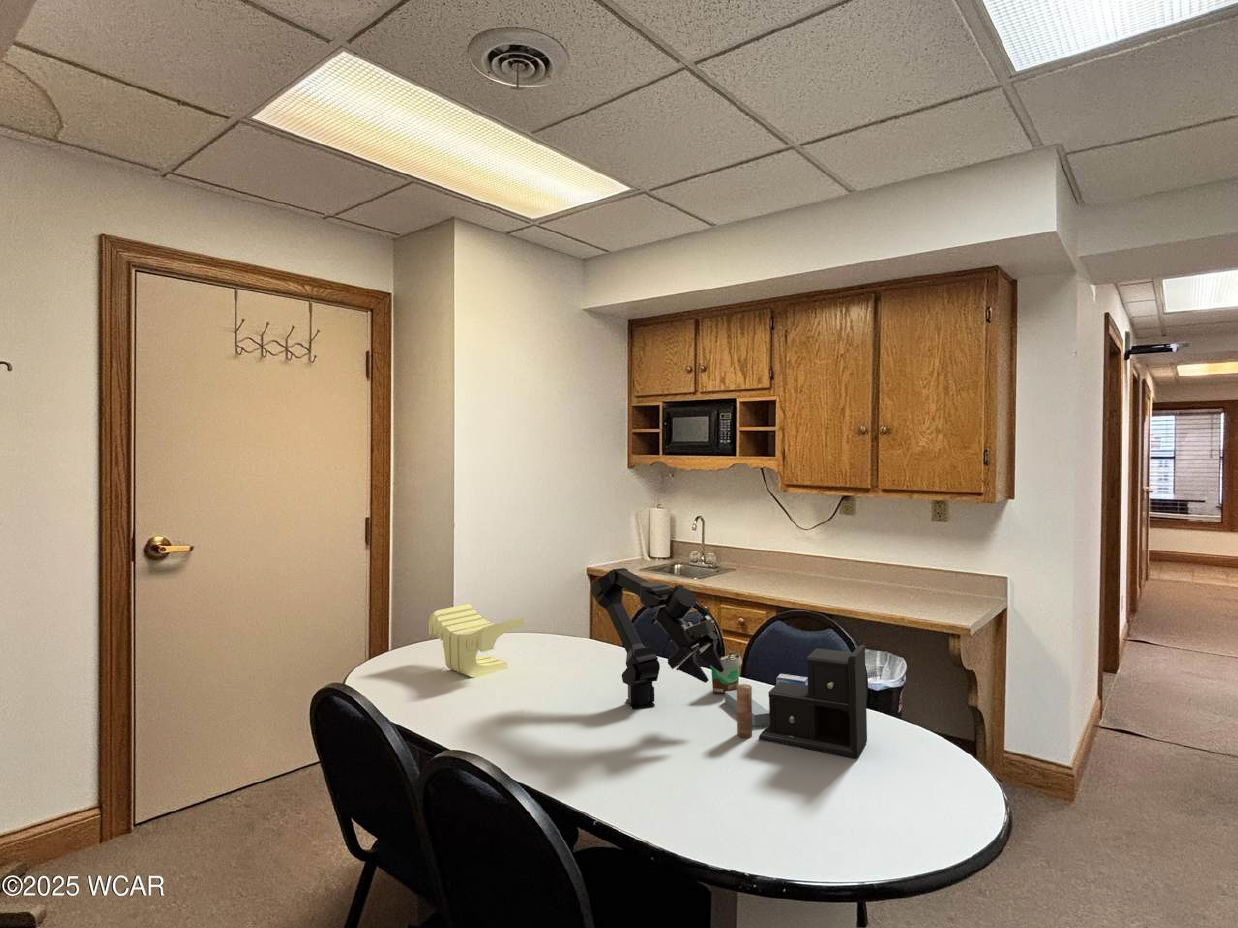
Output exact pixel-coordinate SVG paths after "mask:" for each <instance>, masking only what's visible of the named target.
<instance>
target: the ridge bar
mask: <svg viewBox="0 0 1238 928" xmlns="http://www.w3.org/2000/svg"><path fill="white" fill-rule="evenodd" d="M724 702H725V704H726V705H727V706H729V707H730V708H731V709H732V710H734V711H735V712H736V713H737V690H735V691H726V692H725V695H724ZM769 724H770V716H769V710H768V709H767V708H765V707H763V705H761V704H760V703H758V702H757V701H756V700H755V699H753V698H752V727H755V728H756V727H762V726H768V725H769Z"/></svg>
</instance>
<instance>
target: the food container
mask: <svg viewBox="0 0 1238 928" xmlns="http://www.w3.org/2000/svg"><path fill="white" fill-rule="evenodd" d="M741 657H742V656H741V654H739V653H738V652H736V651H734V650H729V653H728V654H727V655H723V656H719V659H720V661H721V664H722V666H723V668H724V671H723V672H719V671H718V670H716V669H715V668H714V667H712V666H711V665H710V664H709V665H710V666H709V668H711V670H710V671H711V682H712V683H711V684H712V685H711V687H712V694H713V695H721V696H722V695H723V696H725V692H726V691H735V690H737V685H739V680H740V667H741V665H742V664H743V661H742V658H741Z"/></svg>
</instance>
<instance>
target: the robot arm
mask: <svg viewBox="0 0 1238 928" xmlns="http://www.w3.org/2000/svg"><path fill="white" fill-rule="evenodd" d="M624 589H625V590H627V591H628V592H630V593H632V594H634V595H635V596H638V597H639V601H640V603H641V604H642V605H643V606H644V607H646V608H647V609H649V610H651V609H655V608H659V609H658V610H656V611H654V612H651V614H650V616H651V617H650V618H651V619H650V624H651V625H655V624H656V623H657V624H658V625H659V626H660V628H661V629H663V631H664V632H665V634H666V635H667V636H668V637H667V639H666V640H667V641H668V643H670V642H673V644H674V645H675V647H677V649H676V650H674V652H673V653H672V654H671V655H669V656H668V657H667V665H668V666H669V667H670V669H671V670H674V669H675V671H680V672H682V673H685V674H686V675H689V676H691V677H693V678H695V679H697V680H699V681H701V682H703V683H704V684H706V683H708V682H709V681H710V680H709V678H708V676H707V674H706V673H705V672H704V670H703V668H702V667H701V666H700V664H699V662H698V660H697V654H699V655H698V657H699V658H701V659H702V660H703V661H705V662H706V663H707V664H709V665H711V666H712V667H714V668H715V669H716V670H718V671H719V672H723V671H724V668H723V666H722V664H721V661H720V659H719V658H720V656H719V654H718V652H717V644H718V643H719V642H718V640H717V639H718V638H719V637H718V635H717V634H716V633H715V632H716V629H715V623H716V622H715V620H713V619H712V618H711V616H709V615H705V616H702V617H700V618H699V619H700V621H699V622H697V623H696V624H693V623H692V622H691V621H688V622H686V621H685V620H684V618H685V617H686V616H687V615H688V614H689V612H690V611H691V610H692V609H693V607H695V605H696V604H697V597H696V595H695V593H693V592H692V591H691V590H690V589H688V588H686V587H684V585H683V584H677V585H675V586H674V587H673V589H672V588H671V587H670V586H669V585H668V584H665V583H661V582H651V581H648V580H647V579H644V578H643V577H640V576H639V575H637V574H635V573H633V572H631V571H629V570H628V569H627V568H625V567H619V568H613V569H610V570H609V571H608V572H607V573H606V574H605V575H603V576H601V577H599V578H598V579H596V580H595V581H594V582H593V583H592V586H591V589H590V592H591V595H592V597H593V598H594V600H595V601H596V603H597V604H598V606H600V607H602V608H603V609H604V610H606V612H607V614H608V616H609V617H610V620H611V622H612V624H613V626H614V629H615V631H616V633H617V635H618V637H619V640H620V641H621V644H622V645H623V648H624V650H625V652H626V657H625V666H626V668H625V670H624V671H622V674H621V679H622V683H624V684H626V685H627V699H625V702H626V703H627V705H628V706H629V707H630V708H631V709H634V710H635V709H641V708H643V709H645V708H652V707H655V706H656V705H655V703H654V702H655V687H654V686H653V682H657V681H658V678H659V673H660V668H661V665H660V662H659V657H658V656H657V655H656V653H655V651H654V648H653V647H652V646H651V645H650V646H649V645H648V646H645V645H644V644H643V643H642V641H641V638H640V636H639V634H638V633H637V630H636V628H635V626H634V624H633V622H632V620H631V618H630V615H629V614H628V611H627V610H626V608H625V605H624V604H623V597H624V591H623V590H624Z"/></svg>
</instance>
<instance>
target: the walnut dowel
mask: <svg viewBox="0 0 1238 928" xmlns="http://www.w3.org/2000/svg"><path fill="white" fill-rule="evenodd" d="M752 689H753V688H752V685H750V684H745V683H743V684H741V683H740V684H738V685H737V712H736V726H737V727H736V735H737V737H739V738H741V739H749V738H752V737H753V725H752V699H753V697H752V694H753V692H752V691H753V690H752Z"/></svg>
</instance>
